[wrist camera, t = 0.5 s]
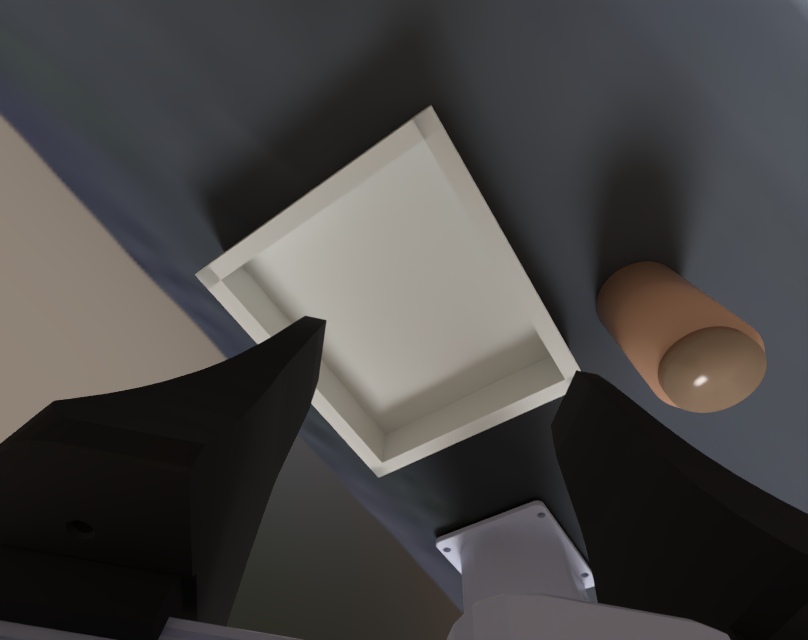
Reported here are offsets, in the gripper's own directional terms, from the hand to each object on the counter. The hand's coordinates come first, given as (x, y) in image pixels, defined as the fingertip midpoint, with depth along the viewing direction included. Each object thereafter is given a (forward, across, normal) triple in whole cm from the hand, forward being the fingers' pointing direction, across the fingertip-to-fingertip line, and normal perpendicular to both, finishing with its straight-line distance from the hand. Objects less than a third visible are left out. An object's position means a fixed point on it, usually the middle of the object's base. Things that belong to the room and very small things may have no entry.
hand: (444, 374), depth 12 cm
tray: (+10, +1, +3) cm, 10 cm away
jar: (+10, -10, 0) cm, 14 cm away
